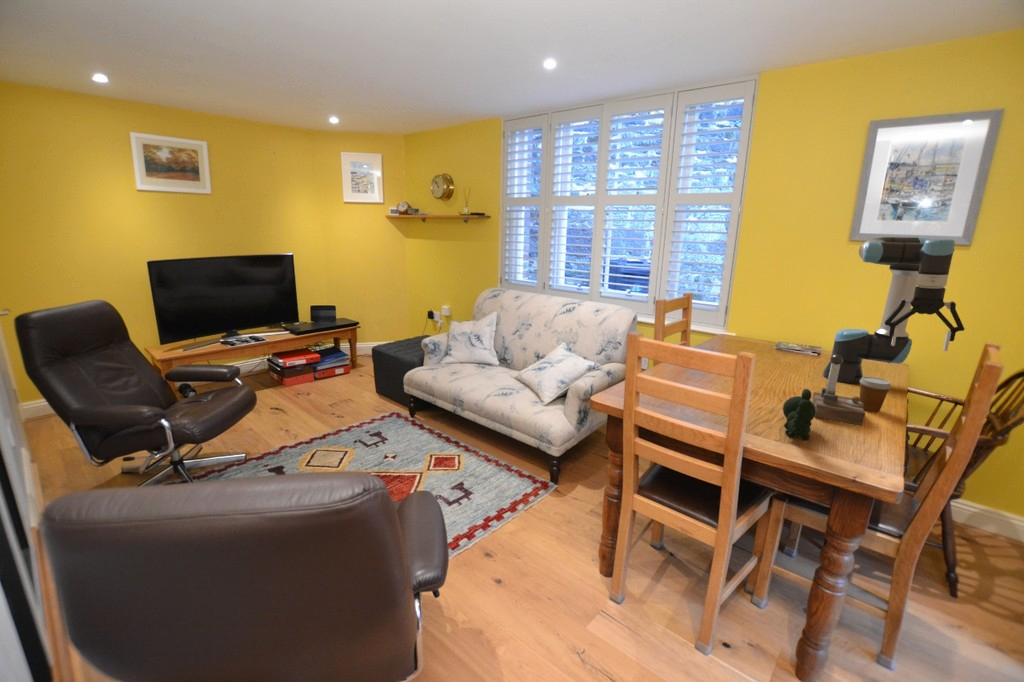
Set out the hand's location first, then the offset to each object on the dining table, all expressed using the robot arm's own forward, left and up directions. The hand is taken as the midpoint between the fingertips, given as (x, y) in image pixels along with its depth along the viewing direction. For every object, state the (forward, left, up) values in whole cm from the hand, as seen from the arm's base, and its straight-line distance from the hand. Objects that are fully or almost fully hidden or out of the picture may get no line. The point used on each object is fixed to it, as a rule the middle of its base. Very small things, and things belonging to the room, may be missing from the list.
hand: (918, 347), depth 156 cm
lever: (+5, -23, -21) cm, 32 cm away
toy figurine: (+32, -33, -28) cm, 54 cm away
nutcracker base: (+5, -20, -28) cm, 34 cm away
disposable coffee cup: (-8, -8, -28) cm, 30 cm away
